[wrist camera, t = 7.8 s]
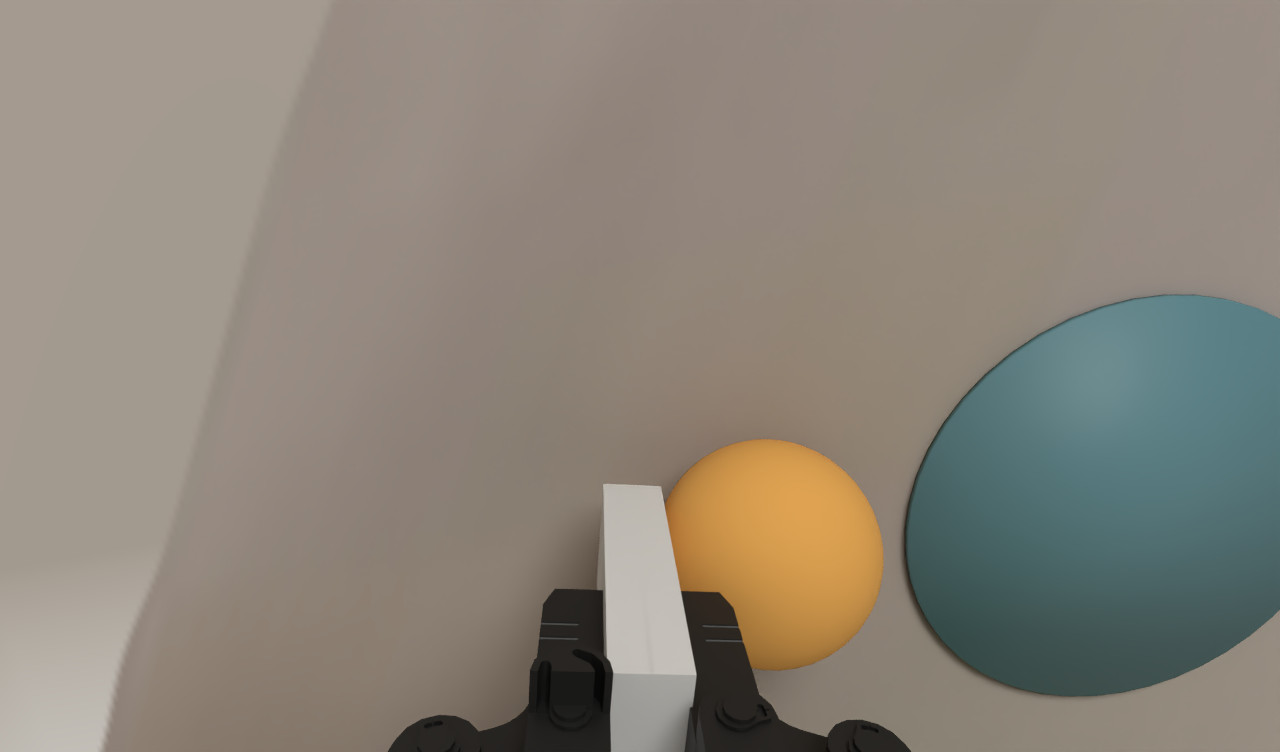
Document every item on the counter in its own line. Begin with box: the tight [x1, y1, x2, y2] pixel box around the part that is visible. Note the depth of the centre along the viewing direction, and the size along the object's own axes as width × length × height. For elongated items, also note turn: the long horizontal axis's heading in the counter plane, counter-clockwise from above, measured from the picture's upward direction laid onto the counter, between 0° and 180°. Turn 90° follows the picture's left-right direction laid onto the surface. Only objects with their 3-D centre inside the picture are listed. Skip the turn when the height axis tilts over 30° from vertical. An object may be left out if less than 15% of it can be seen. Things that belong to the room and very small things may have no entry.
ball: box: [664, 439, 883, 670], centre depth 18 cm, size 6×6×6 cm
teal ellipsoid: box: [906, 295, 1280, 696], centre depth 21 cm, size 13×13×1 cm
